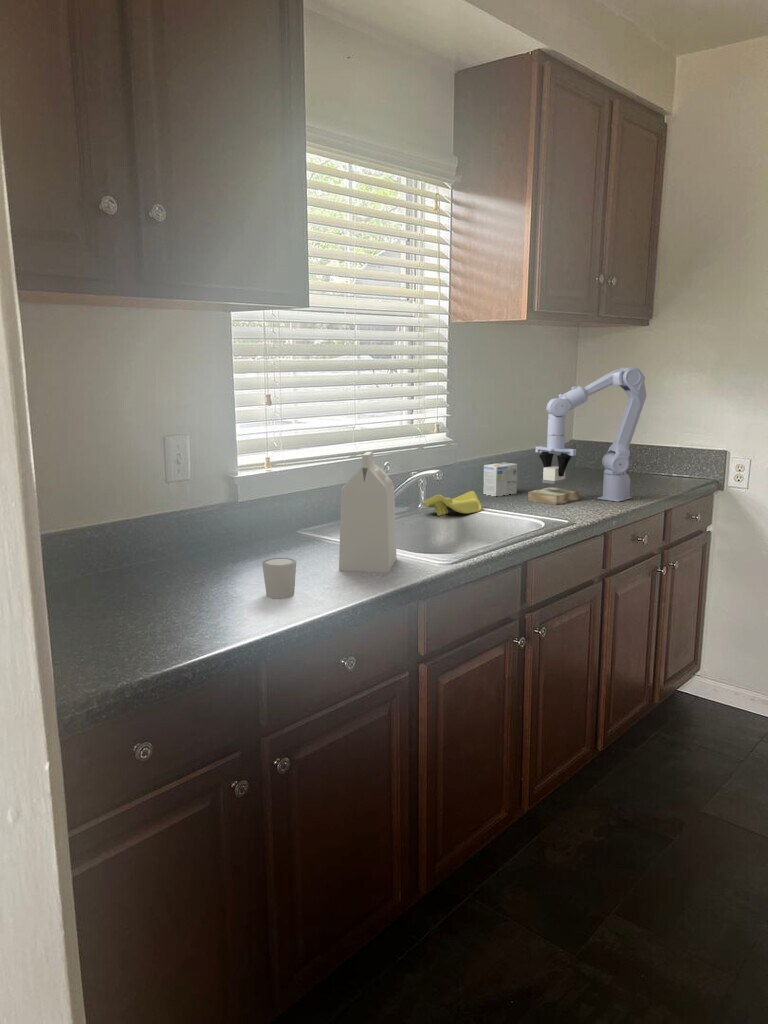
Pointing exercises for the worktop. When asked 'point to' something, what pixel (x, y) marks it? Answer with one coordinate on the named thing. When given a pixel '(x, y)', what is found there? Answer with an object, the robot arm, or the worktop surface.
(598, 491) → the worktop surface
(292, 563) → the shot glass
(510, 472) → the light bulb box
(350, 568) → the milk
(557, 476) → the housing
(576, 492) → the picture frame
